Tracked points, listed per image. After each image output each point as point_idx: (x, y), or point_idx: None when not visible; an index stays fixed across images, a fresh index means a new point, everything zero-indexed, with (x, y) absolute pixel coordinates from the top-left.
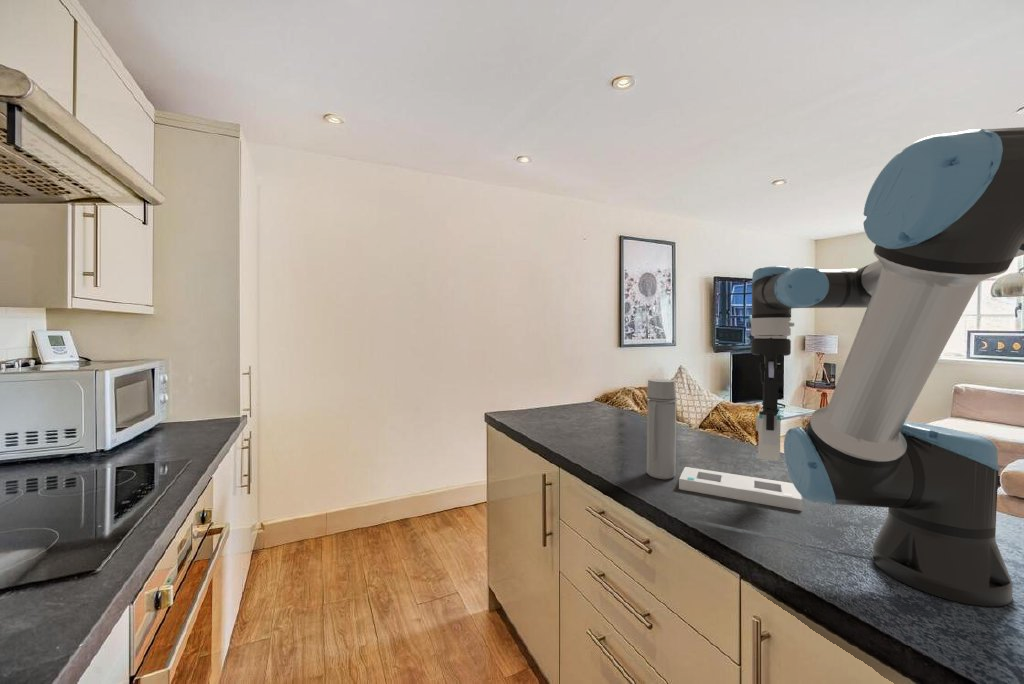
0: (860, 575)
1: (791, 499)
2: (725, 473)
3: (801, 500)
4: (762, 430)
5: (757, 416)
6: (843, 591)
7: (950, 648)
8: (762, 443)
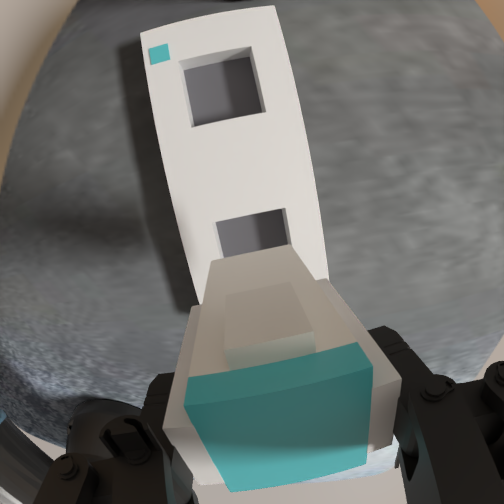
0: (53, 381)
1: None
2: (295, 117)
3: None
4: (192, 344)
5: (276, 350)
6: (10, 362)
7: (13, 411)
8: (191, 308)
